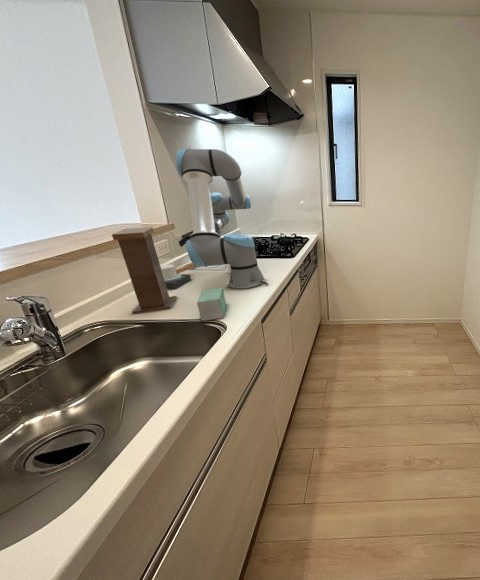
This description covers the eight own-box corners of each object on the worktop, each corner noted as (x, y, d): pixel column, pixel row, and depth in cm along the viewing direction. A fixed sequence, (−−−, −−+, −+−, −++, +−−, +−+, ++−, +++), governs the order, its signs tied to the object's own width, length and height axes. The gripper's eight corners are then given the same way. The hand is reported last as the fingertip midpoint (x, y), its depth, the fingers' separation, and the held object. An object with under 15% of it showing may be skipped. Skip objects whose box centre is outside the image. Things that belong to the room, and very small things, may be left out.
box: (226, 304, 125) (222, 286, 122) (224, 317, 113) (219, 299, 111) (206, 307, 123) (201, 289, 120) (201, 321, 111) (196, 302, 108)
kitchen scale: (191, 279, 154) (189, 272, 153) (175, 289, 142) (173, 281, 141) (164, 280, 154) (162, 273, 152) (146, 289, 142) (143, 282, 140)
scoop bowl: (168, 279, 143) (165, 269, 141) (155, 278, 144) (152, 268, 142) (200, 266, 162) (198, 257, 161) (188, 265, 163) (186, 256, 162)
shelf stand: (143, 302, 128) (119, 229, 117) (176, 297, 132) (157, 226, 121) (133, 314, 117) (106, 234, 107) (170, 308, 122) (147, 232, 111)
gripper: (236, 232, 178) (219, 249, 161) (193, 233, 179) (172, 251, 162) (232, 219, 174) (214, 236, 157) (188, 221, 175) (166, 237, 157)
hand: (193, 243), depth 159 cm, fingers open, 13 cm apart
